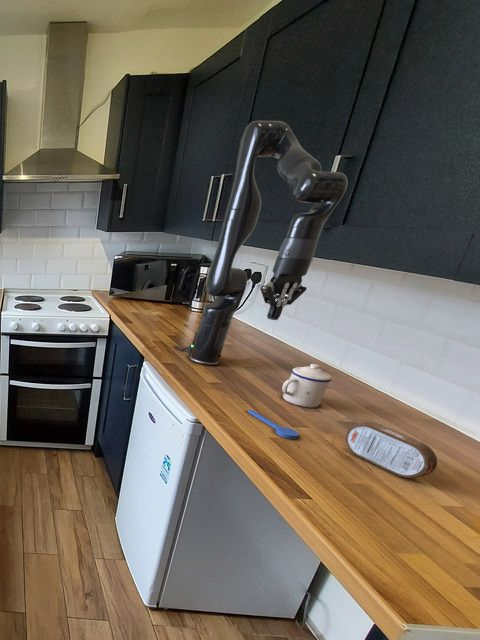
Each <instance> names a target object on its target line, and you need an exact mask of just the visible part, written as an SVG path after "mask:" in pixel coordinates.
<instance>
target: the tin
mask: <svg viewBox="0 0 480 640" xmlns="http://www.w3.org/2000/svg"><path fill="white" fill-rule="evenodd" d="M345 443H346V446H347V447H348V449H349V450H350V452H352V453H353V454H354V455H356V456H357V457H359V458H361V459H363V460H365V461H367V462H369V463H371V464H373V465H374V466H377V467H379V468H381V469H383V470H385V471H387V472H389V473H391V474H393V475H395V476H398V477H400V478H406V479H415V478H416V479H417V478H420V477H426V476H429V475H430V474H432V473H433V472H434V471H435V470H436V468H437V466H438V457H437V455H436V452H435V451H434V450H433V449H432V448H431V447H430V446H429V445H428V444H427V443H425V442H423V441H421V440H419V439H416V438H415V437H412V436H410V435H407V434H405V433H402V432H401V431H398V430H395V429H393V428H391V427H389V426H386V425H384V424H382V423H378V422H375V421H363V422H360V423H358V424H354V425H353V426H352V425H351V426H350V428H348V430H347V431H346V433H345Z"/></svg>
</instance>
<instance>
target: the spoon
mask: <svg viewBox="0 0 480 640" xmlns="http://www.w3.org/2000/svg"><path fill="white" fill-rule="evenodd" d="M247 413H248V414H249V415H251V416H253V417H254V418H256V419H258V420H259V421H261V422H262V423H264V424H266V425H267V426H269V427H271V428H273V429H274V430H275V433H276V434H277V435H278V436H279V437H282V438H284V439H288V440H297V439H298V437H299V432H298V431H296V430H294V429H292V428H290V427H286V426H280V425H278V424H277V423H276V422H274V421H272V420H270V419H268V418H267V417H265V416H263V415H262V414H261V413H258V412H257V411H255V410H253V409H248V411H247Z"/></svg>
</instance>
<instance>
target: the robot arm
mask: <svg viewBox="0 0 480 640" xmlns="http://www.w3.org/2000/svg"><path fill="white" fill-rule="evenodd" d="M236 157H237V158H236V163H235V170H234V176H233V182H232V186H231V191H230V195H229V198H228V202H227V206H226V210H225V213H224V218H223V222H222V226H221V231H220V235H219V239H218V242H217V246H216V249H215V252H214V256H213V257H212V262H211V264H210V267H209V270H208V273H207V276H206V280H205V290H206V292H207V293H206V294H208V295H209V296H211V297H216V298H215V300H213V301H211V302H210V303H207V304H206V305H205V306H204V307H203V309H202V310H203V311H202V314H201V317H200V321H199V325H198V328H197V331H196V332H195V333H194V335H193V340H192V343H191V345H188V346H185V347H184V348H180V347H179V346H177V344H176V345H174V346H173V347H174V348H176V349H177V350H179V351H182V352H183V351H185V350H186V352H187V353H188V358H189V360H190V361H192V362H193V363H196V364H200V365H204V366H217V365H219V363H220V360H221V357H222V352H223V349H224V346H225V342H226V339H227V337H228V334H229V329H230V326H231V323H232V320H233V318H234V315H235V313H236V312H237V311H238V310H239V307H240V304H241V302H242V299H243V297H244V295H245V292H246V288H247V286H248V285H247V284H248V275H247V272H246V271H245V270H244V269H241V268H237V267H235V268H234V267H233V265H234V264H233V263H234V260H235V257H236V255H237V253H238V251H239V249H241V247H242V245H243V244H244V243H245V242H246V241H247V239H248V238H249V237H250V236H251V235H252V233H253V231H254V230H255V228H256V226H257V223H258V221H259V217H260V213H261V210H262V205H263V204H262V202H263V201H262V197H261V193H260V190H259V188H258V185H257V182H256V181H257V180H256V178H255V167H256V166H255V165H256V159H257V158H266V157H271V158H274V159H277V163H276V164H277V165H276V170H277V173H278V174H279V176H280V177H281V178H282V179H283V180H284V181H285V182H286V184H288V187H289V190H290V194H291V197H292V198H293V199H294V200H296V201H297V202H300V203H305V204H306V203H308V204H309V203H310V204H313V205H312V206H311V207H310V208H309V210H308V211H305V212H301V213H297V214H295V215H293V216H292V217H291V220H290V222H289V225H288V228H287V231H286V233H285V237H284V239H283V241H282V243H281V245H280V247H279V250H278V253H277V256H276V260H275V262H274V266H273V268H272V273H273V275H272V277H271V278H270V280H269V282H268V283H267V284H265V285H264V284H262V285H261V286H260V287H259V289H260V292H261V295H262V297H263V301H264V303H265V304H268V305H269V309H268V312H267V314H266V317H267V320H271V321H278V320H279V318H280V317H281V314H282V313H283V310H284V308H285V307H286V306H291V305H292V304H293V303H294V302H295V301H296V300H298V299H299V298H300V297H301V296H302V295H303V294H304V293H305V292H306V291H307V287H306V286H303V285H302V282H303V277H304V276H306V275H307V273H308V272H309V268H310V267H311V263H312V261H313V258H314V255H315V253H316V249H317V247H318V242H319V239H320V237H321V234H322V230H323V228H324V225H325V223H326V221H327V220H328V218H329V217H330V215H331V214H332V213H333V211H334V209H336V207H337V205H338V204H339V203H340V202H341V200H342V198H343V197H344V195H345V193H346V191H347V188H348V182H349V181H348V176H347V175H346V174H345V173H343V172H341V171H338V172H337V171H322V165H321V162H319V160H318V159H316V158H315V157H314V156H313V155H311V154H310V153H309V152H308V151H306V149H305V148H303V146H302V145H301V143H300V142H299V140H298V139H297V137H296V135H295V134H294V132H293V130H292V128H291V127H290V125H289V124H287V123H286V122H285V121H281V120H253V121H251V122H250V123H249V124H247V126H246V127H245V129H244V131H243V132H242V135H241V138H240V142H239V145H238V151H237V156H236Z"/></svg>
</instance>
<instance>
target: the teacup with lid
mask: <svg viewBox="0 0 480 640" xmlns="http://www.w3.org/2000/svg"><path fill="white" fill-rule="evenodd" d="M320 367H321V366H320V365H319V364H318V363H310V365H307V366H296V367H294V368H292V370H291V374H290V377H289V379H287V380H285V381H284V383H283V384H282V387H281V389H282V392H283V393H282V398H283V399H284V400H285V401H286V402H288V403H291V404H292V405H296V406H299V407H304V408H318V407H319V406H320V404H321V402H322V399H323V397H324V395H325V393H326V391H327V388H328V387H329V383H330V382H332V376H331V374H329V373H327V372H325V371H324V369H323V370H322V368H320Z"/></svg>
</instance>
